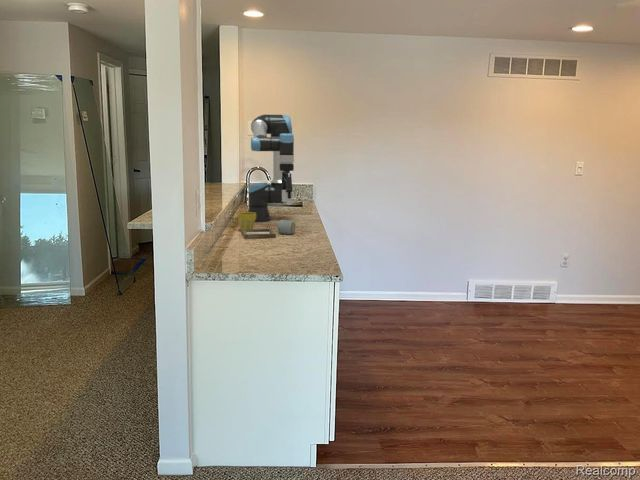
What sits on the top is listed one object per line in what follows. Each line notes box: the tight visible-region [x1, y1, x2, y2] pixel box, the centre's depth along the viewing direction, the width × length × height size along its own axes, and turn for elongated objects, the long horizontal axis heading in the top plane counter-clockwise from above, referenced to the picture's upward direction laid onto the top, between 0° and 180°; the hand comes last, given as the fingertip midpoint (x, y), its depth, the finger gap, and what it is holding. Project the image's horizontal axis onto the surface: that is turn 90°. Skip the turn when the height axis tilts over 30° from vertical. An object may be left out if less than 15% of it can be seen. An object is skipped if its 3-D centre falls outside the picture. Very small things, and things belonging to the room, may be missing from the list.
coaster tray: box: [241, 228, 277, 240], centre depth 274 cm, size 16×16×2 cm
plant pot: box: [237, 211, 256, 232], centre depth 289 cm, size 10×10×10 cm
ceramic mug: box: [277, 219, 296, 235], centre depth 282 cm, size 11×8×8 cm
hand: (286, 203), depth 279 cm, fingers open, 13 cm apart
